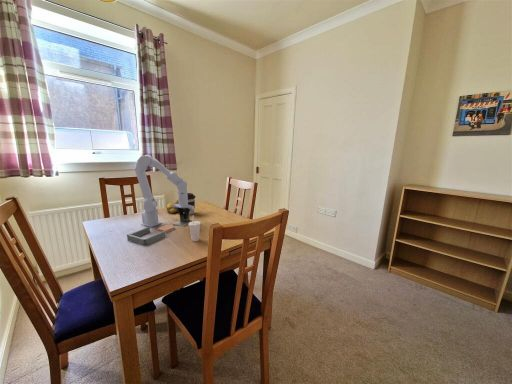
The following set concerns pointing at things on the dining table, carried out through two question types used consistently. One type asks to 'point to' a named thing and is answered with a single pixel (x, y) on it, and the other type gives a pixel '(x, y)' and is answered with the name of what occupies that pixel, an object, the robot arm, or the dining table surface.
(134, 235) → the frame
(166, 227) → the tile
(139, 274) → the dining table surface
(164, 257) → the dining table surface
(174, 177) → the robot arm
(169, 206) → the bread roll
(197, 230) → the smoothie
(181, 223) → the turner
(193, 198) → the coffee cup
